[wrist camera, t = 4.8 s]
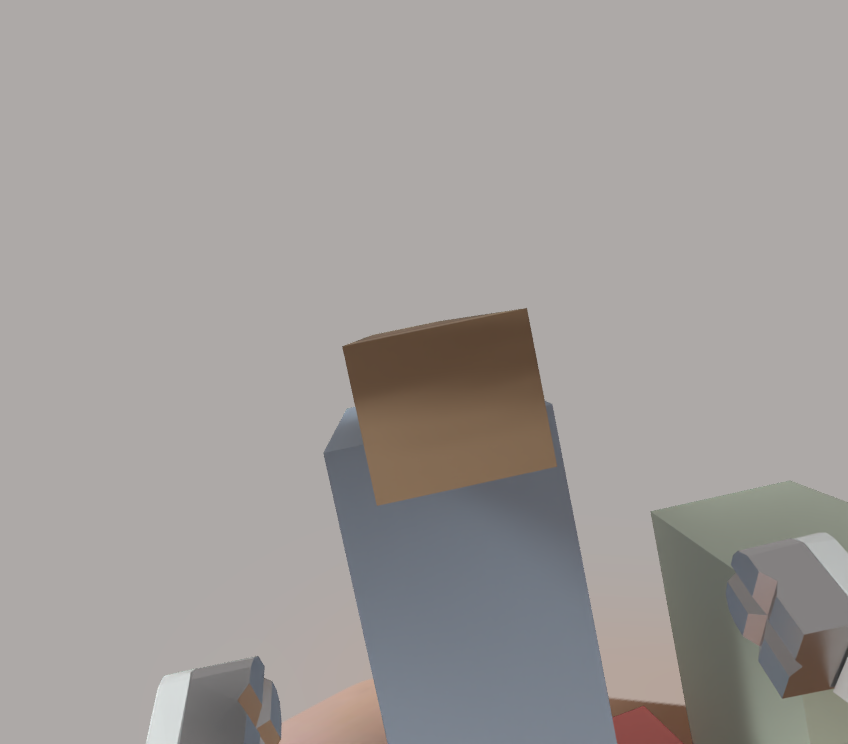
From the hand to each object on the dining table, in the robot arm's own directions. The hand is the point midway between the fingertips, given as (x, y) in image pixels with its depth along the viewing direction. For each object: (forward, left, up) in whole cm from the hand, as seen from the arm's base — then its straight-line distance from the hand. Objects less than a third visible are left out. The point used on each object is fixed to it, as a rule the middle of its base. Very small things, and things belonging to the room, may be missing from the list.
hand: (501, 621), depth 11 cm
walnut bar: (0, +15, +2) cm, 15 cm away
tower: (0, +17, -24) cm, 30 cm away
